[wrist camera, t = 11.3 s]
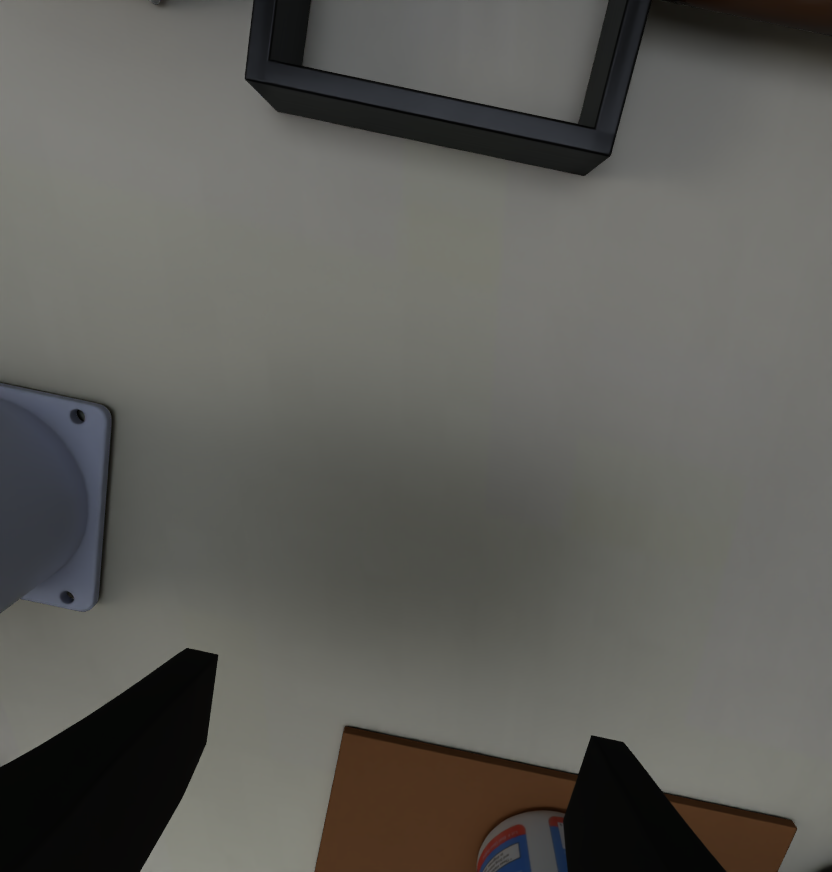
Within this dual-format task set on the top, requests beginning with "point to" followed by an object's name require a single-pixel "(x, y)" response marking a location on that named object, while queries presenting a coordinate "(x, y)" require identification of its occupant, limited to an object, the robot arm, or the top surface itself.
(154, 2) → the milk carton
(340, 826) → the mat
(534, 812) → the pill bottle
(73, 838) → the robot arm
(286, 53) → the pan
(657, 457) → the top surface
